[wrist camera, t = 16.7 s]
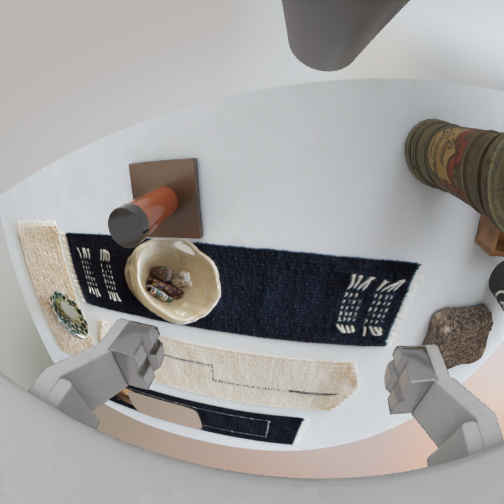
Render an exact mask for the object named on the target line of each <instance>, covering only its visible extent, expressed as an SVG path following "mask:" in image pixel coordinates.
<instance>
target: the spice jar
mask: <svg viewBox="0 0 504 504" xmlns="http://www.w3.org/2000/svg"><path fill="white" fill-rule="evenodd" d="M177 208H178V198H177V196H176V194H175V193H174V191H173V190H172V189H170V188H168V187H166V186H159V187H156V188H154V189H153V190H151V191H149V192H147V193H145V194H143V195H141V196H140V197H138V198H136V199H134V200H132V201H131V202H129V203H127V204H124V205H122V206H120V207H118V208H117V209H115V210H113V211H112V213H111V214H110V216H109V220H108V227H109V231H110V234H111V236H112V237H113V239H114V240H115V241H116V242H117V243H118V244H119V245H121V246H123V247H126V248H133V247H136V246H137V245H139V244H140V243H141V242H142V241H143V240H144V239H145V238H146V237H147V236H148V235H149V234H150V233H151V232H153V231H154V230H155V229H156V228H157V227H159V226H160V225H161V224H162V223H163V222H165V221H166V220H167V219H168V218H170V217H171V216H172V215H173V214H174V213H175V212H176V211H177Z"/></svg>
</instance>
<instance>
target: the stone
mask: <svg viewBox="0 0 504 504" xmlns="http://www.w3.org/2000/svg"><path fill="white" fill-rule="evenodd" d="M492 325H493V321H492V314H491V312H490V311H489V309H488V308H487V307H485V305H484V304H481V305H479V306H475V307H471V308H467V307H462V308H455V307H453V308H445V309H443V310H440V311H438V312H437V313H435V314H434V315H433V316H432V320H431V322H430V326H429V330H428V334H427V337H426V338H425V340H424V342H423V344H422V345H433V344H435V345H437V346H438V348H439V351H440V353H441V356H442V358H443V360H444V363H445V365H446V368H447V370H448V369H449V368H452V367H454V366H456V365H460V364H469V363H473V362H475V361H477V360H479V359H480V358H481V357H482V355H483V352H484V350H485V348H486V342H487V337H488V335H489V331H490V330H491V327H492Z"/></svg>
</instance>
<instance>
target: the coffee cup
mask: <svg viewBox="0 0 504 504" xmlns="http://www.w3.org/2000/svg"><path fill="white" fill-rule="evenodd" d="M489 288H490V290H491V292H492V293H493V295H494V296H495V298H496V299H497V301H498V303H499V304H500V306H501V308H502V309H503V311H504V261H503V262H501V263H500V264H499V265H497V267H496V268H495V269H494V271H493V272H492V274H491V277H490V280H489Z"/></svg>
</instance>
